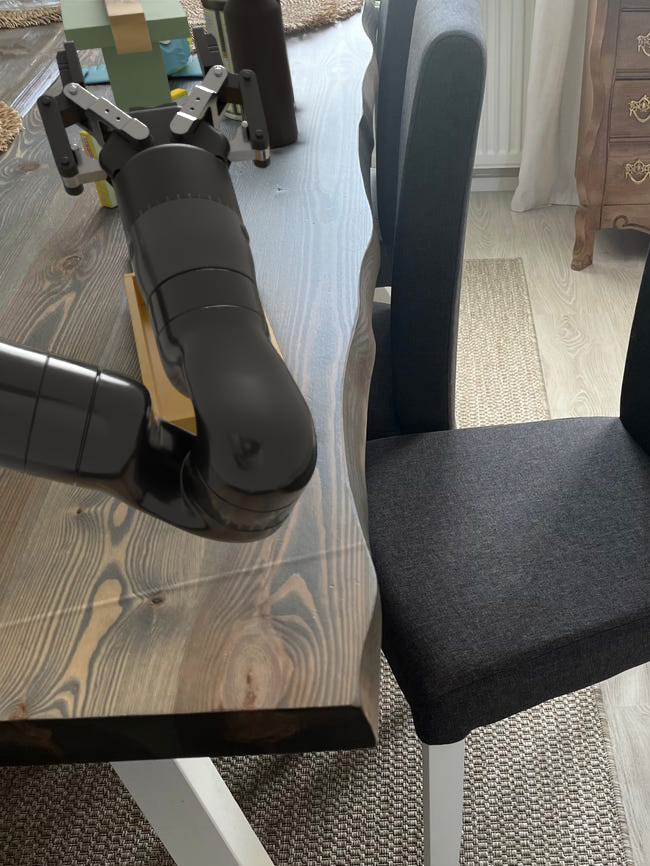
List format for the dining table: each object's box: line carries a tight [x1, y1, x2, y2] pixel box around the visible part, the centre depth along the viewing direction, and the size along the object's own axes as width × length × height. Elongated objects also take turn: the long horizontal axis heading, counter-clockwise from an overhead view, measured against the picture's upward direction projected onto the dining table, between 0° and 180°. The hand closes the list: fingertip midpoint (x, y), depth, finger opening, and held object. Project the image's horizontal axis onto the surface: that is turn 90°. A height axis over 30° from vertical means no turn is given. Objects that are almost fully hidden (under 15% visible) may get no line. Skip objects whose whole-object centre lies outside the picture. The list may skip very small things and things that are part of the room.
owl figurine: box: [81, 12, 203, 85], centre depth 147 cm, size 28×9×15 cm
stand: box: [58, 0, 192, 273], centre depth 96 cm, size 14×10×24 cm
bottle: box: [223, 0, 299, 149], centre depth 124 cm, size 7×7×20 cm
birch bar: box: [103, 0, 152, 55], centre depth 83 cm, size 20×3×3 cm, turn 19°
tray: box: [122, 272, 286, 434], centre depth 89 cm, size 28×12×4 cm, turn 19°
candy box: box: [79, 88, 189, 209], centre depth 118 cm, size 16×2×8 cm, turn 150°
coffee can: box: [199, 0, 297, 122], centre depth 134 cm, size 10×10×14 cm
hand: (136, 43), depth 69 cm, fingers open, 8 cm apart
